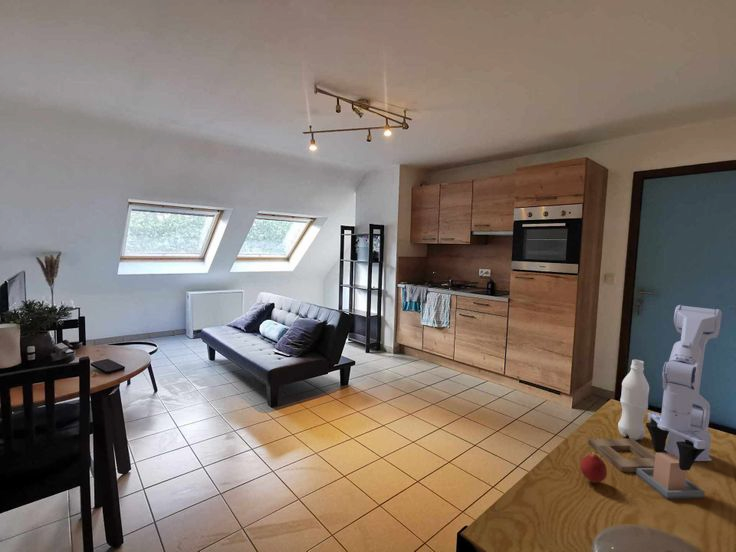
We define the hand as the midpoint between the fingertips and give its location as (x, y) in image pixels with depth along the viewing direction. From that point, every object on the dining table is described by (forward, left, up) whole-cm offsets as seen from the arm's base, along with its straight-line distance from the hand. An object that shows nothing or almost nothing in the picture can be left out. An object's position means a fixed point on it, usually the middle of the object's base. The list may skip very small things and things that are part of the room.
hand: (671, 460), depth 95 cm
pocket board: (+1, -13, -7) cm, 15 cm away
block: (0, 0, -6) cm, 6 cm away
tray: (0, 0, -7) cm, 7 cm away
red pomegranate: (+19, -2, -7) cm, 20 cm away
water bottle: (-9, -24, -7) cm, 27 cm away
